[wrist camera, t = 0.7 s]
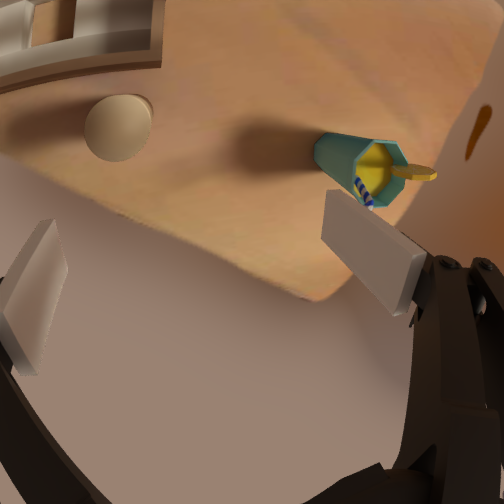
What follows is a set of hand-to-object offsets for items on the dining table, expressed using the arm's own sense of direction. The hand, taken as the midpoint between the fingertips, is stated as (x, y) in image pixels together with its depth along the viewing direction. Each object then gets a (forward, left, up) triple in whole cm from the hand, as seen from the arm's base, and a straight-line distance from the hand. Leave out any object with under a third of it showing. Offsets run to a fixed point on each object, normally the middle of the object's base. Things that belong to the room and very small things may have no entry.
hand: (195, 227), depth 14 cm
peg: (-4, -4, -22) cm, 23 cm away
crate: (-16, -13, -22) cm, 30 cm away
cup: (+1, +19, -22) cm, 29 cm away
